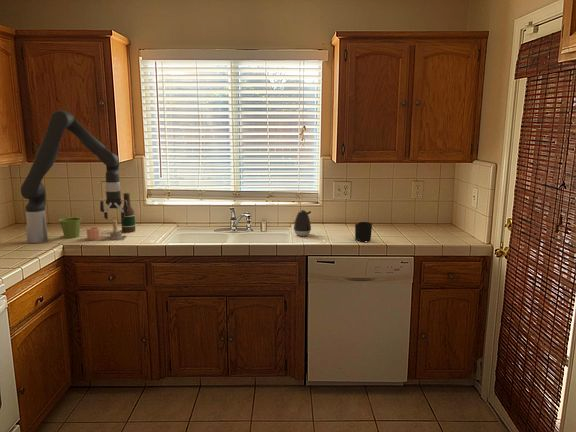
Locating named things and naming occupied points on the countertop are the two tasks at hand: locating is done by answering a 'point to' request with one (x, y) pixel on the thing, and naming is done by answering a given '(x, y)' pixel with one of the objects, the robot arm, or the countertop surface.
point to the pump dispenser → (302, 223)
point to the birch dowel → (115, 227)
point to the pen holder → (363, 231)
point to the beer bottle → (128, 217)
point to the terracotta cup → (93, 233)
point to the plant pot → (71, 226)
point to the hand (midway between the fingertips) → (114, 218)
